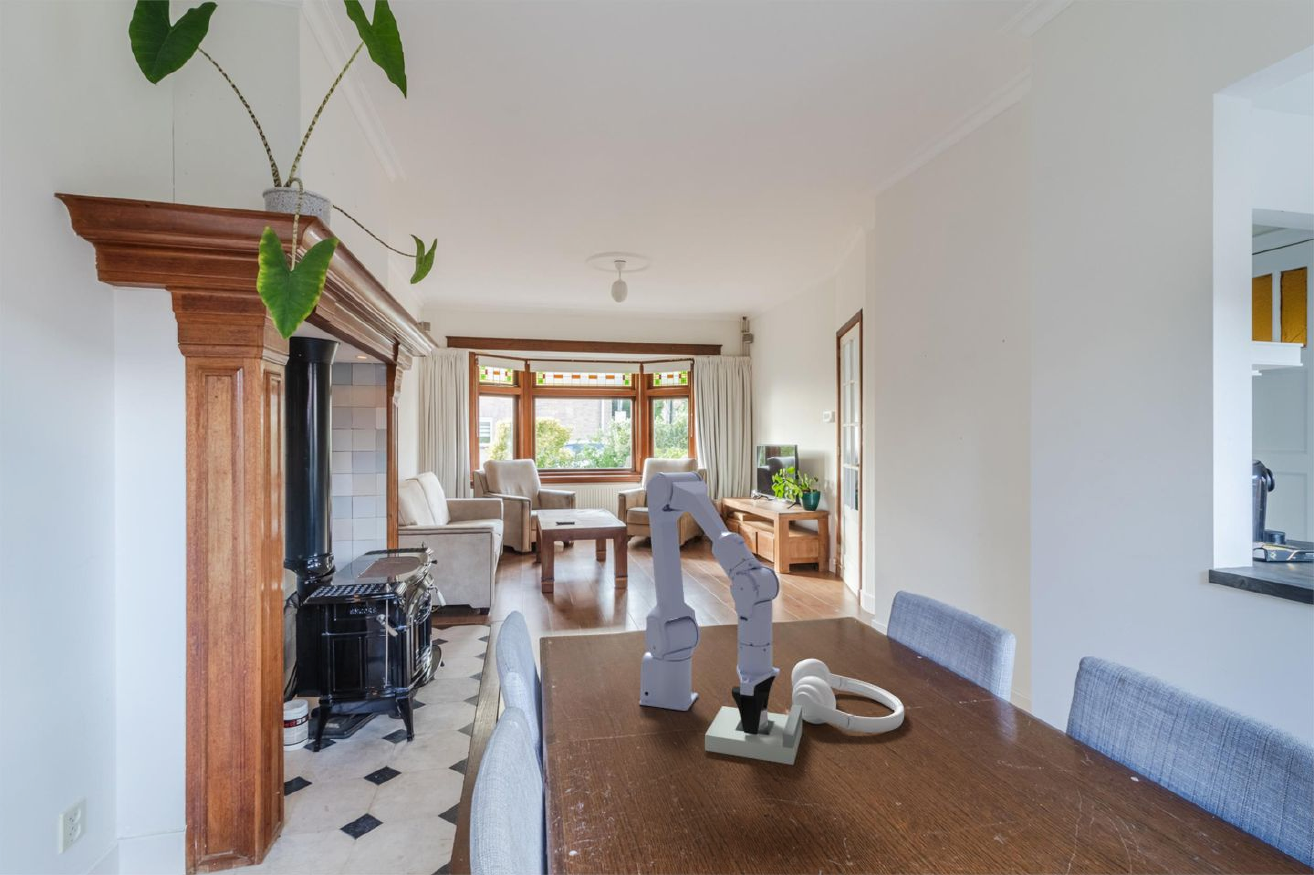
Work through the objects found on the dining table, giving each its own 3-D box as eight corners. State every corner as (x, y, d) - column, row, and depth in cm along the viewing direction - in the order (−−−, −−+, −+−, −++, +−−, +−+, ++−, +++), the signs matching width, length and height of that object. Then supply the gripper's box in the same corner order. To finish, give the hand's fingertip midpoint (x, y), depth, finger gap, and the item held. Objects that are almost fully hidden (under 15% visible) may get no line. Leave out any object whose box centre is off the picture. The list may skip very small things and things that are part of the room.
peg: (740, 743, 104) (740, 713, 104) (747, 733, 108) (747, 704, 108) (763, 748, 103) (763, 717, 103) (770, 738, 106) (770, 708, 106)
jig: (705, 750, 102) (705, 722, 102) (722, 720, 113) (722, 694, 113) (793, 764, 97) (793, 735, 97) (802, 731, 109) (802, 705, 109)
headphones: (790, 729, 109) (912, 752, 105) (794, 683, 109) (917, 705, 105) (789, 687, 128) (892, 705, 124) (793, 648, 128) (897, 665, 124)
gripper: (772, 657, 97) (772, 746, 97) (785, 631, 111) (785, 709, 111) (727, 652, 100) (727, 739, 99) (745, 627, 113) (745, 703, 113)
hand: (755, 723), depth 105 cm, fingers open, 7 cm apart
